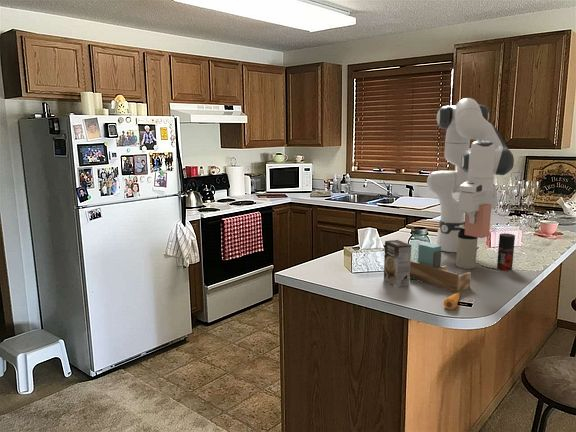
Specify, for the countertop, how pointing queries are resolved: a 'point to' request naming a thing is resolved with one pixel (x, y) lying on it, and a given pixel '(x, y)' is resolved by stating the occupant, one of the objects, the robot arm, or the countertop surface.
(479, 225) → the salmon pink block
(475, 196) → the robot arm
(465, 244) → the travel mug
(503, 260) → the deodorant
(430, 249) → the teal rectangular block
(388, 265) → the coffee box
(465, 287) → the brown wooden box
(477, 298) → the countertop surface
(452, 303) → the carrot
